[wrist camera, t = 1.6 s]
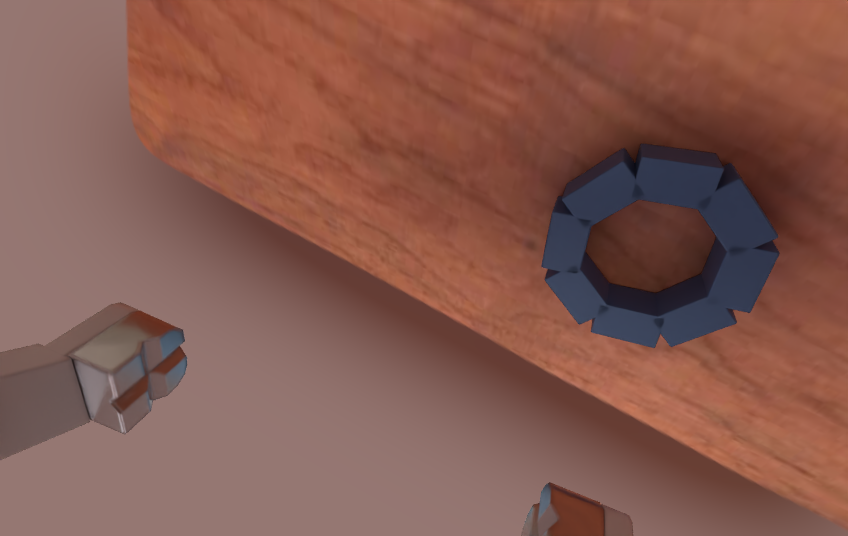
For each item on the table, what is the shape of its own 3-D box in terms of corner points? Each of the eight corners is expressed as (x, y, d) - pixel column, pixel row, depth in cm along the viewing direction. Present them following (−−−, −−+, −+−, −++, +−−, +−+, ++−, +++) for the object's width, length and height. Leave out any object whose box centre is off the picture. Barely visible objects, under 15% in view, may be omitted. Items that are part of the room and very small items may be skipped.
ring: (799, 164, 21) (816, 181, 19) (717, 338, 26) (724, 365, 24) (570, 133, 24) (565, 145, 22) (537, 296, 29) (530, 317, 27)
